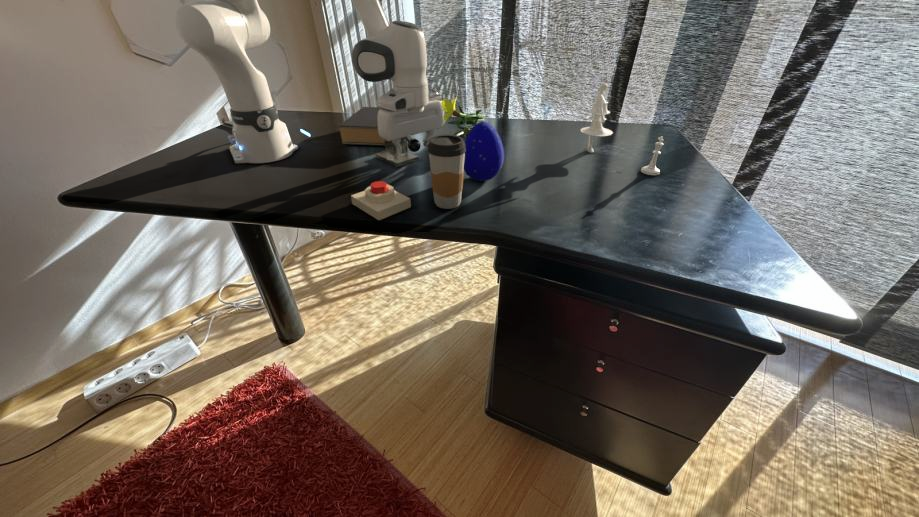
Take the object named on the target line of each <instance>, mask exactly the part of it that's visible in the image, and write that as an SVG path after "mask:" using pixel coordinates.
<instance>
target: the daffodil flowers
mask: <svg viewBox="0 0 919 517" xmlns="http://www.w3.org/2000/svg"><path fill="white" fill-rule="evenodd" d="M457 89H459V86H458V87H457ZM456 94H457V95H458V94H459V93H458V92H457V93H456ZM457 98H458V97H457V96H456V97H455V99H454V98H451V99H450V100H449V99H447V98H446V97H444V98H443V97H442V107H443V112H445V113H444V125H445V124H446V123H447V124H449V125H456V126H457V128H458V129H459V131H456V132H455V133H454V134H453V135H456V136H459V137H461V136H462V135H463V136H464V140H465V139H466V137H467V135H468V133H469V132H470V130H471V129H472V128H473V127H474V126H475V125H476V124H477V123H479V122H483V121H484V122H486V121H485V116H484V113H483V112H482V110H483V109H477V110H475V112H468V113H465V112H464V110H463V109H462V107H461V105H460V104H459V103H457V107H458V109H459V111H458V110H457V109H456V102H457ZM452 116H453V117H456V118H459V119H456V120H453V121H448V119H449V118H451V117H452ZM447 121H448V122H447ZM488 123H489V124H490V122H488ZM462 125H463V126H462ZM439 129H440V128H437V130H439Z"/></svg>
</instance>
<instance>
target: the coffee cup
mask: <svg viewBox="0 0 919 517" xmlns="http://www.w3.org/2000/svg"><path fill="white" fill-rule="evenodd" d="M464 141H465V139H464V138H463V137H461V136H456V135H454V134H439V135H433V137H432V138H431V139H430V143H429V144H428V147H427V153H428V156H429V157H428V158H429V167H430V171H429V172H430V179H431V188H432V192H433V201H434V204H435V206H436V207H438V208H440V209H444V210H450V209H451V210H452V209H455V208H458V207H459V206H460V204H462V194H463V186H464V174H465V170H464V158H465V152H466V148H465V146H466V145H465V143H464Z"/></svg>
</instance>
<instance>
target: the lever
mask: <svg viewBox="0 0 919 517" xmlns="http://www.w3.org/2000/svg"><path fill="white" fill-rule="evenodd" d="M404 138H405V139H406V140H407V148H408V151H410V152H412V153H418V152H419V151H420V149H421V147H422V146H421V145H422V144H421V141H420V140H419V139H417V138H412V136H407V137H404Z"/></svg>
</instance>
